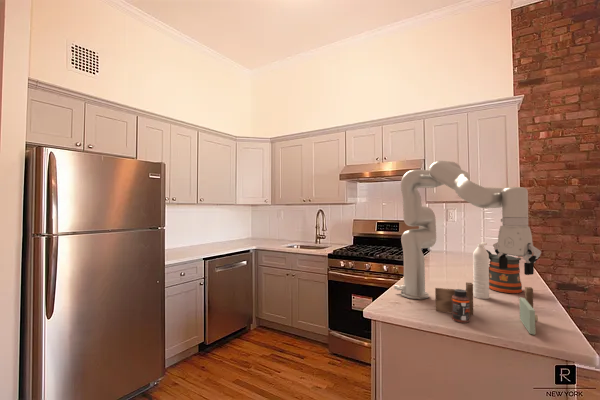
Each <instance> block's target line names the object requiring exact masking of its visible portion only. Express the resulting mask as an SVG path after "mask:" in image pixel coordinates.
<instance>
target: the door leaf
mask: <svg viewBox="0 0 600 400" xmlns="http://www.w3.org/2000/svg"><path fill="white" fill-rule="evenodd" d="M518 299H519V319H520V321H521V323H522V324H523V326H524V327H525V329H526V330H527V331H528V332H527V333H529V335H536V322H538V321H539V318H538V314H536V310H535V309H534V307H533V308H532V306H531V305H530V304H529V303H528V302H527V301H526V299H525V297H519V298H518Z"/></svg>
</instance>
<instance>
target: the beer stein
mask: <svg viewBox="0 0 600 400" xmlns="http://www.w3.org/2000/svg"><path fill="white" fill-rule="evenodd" d="M486 251H487V252H488V254H489V290H491V291H496V292H499V293H504V294H514V295H515V294H521V293H522V292H523V288H522V287H523V285H522V281H521V276H520V273H521V270H520V263H521V262H520V261H521V260H522V258H521V257H517V256H513V255H507V256H506V257H507V260H508V268H507V269H500V268H499V257H497V254H496V253H495V254H493V253H492V252H491V251H490V250H488V249H486Z"/></svg>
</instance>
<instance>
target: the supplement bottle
mask: <svg viewBox="0 0 600 400" xmlns="http://www.w3.org/2000/svg"><path fill="white" fill-rule="evenodd" d="M454 289H455V292H454V293H455V294H454V295H453V296H452V313H451V319H452V320H453V322H456V323H461V324H467V323H469V322H470V320H471V319H470V316H471V315H470V312H469V297H467V296H466V291H465V290H466V289H463V288H462V289H460V288H454Z"/></svg>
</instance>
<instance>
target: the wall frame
mask: <svg viewBox="0 0 600 400" xmlns="http://www.w3.org/2000/svg"><path fill="white" fill-rule="evenodd" d="M473 287H474V286H473V283H472V282H465V289H464V290H465V291H466V296H467V297H469V312H470V316H474V296H473V291H474V290H473ZM434 289H435V291H434V292H435V293H434V294H435V297H434V298H435V299H434V300H435V301H434V302H435V312H440V313H449V314H450V313H451V314H452V296H453V295H454V294H455V293H454V292H455V289H456V288H441V287H435V288H434ZM524 298H525V299H526V301H527V302H528V303H529V304H530V305H531V306H532V308H533V309H534V288H533V287H532V286H531V287H530V286H524Z"/></svg>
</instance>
